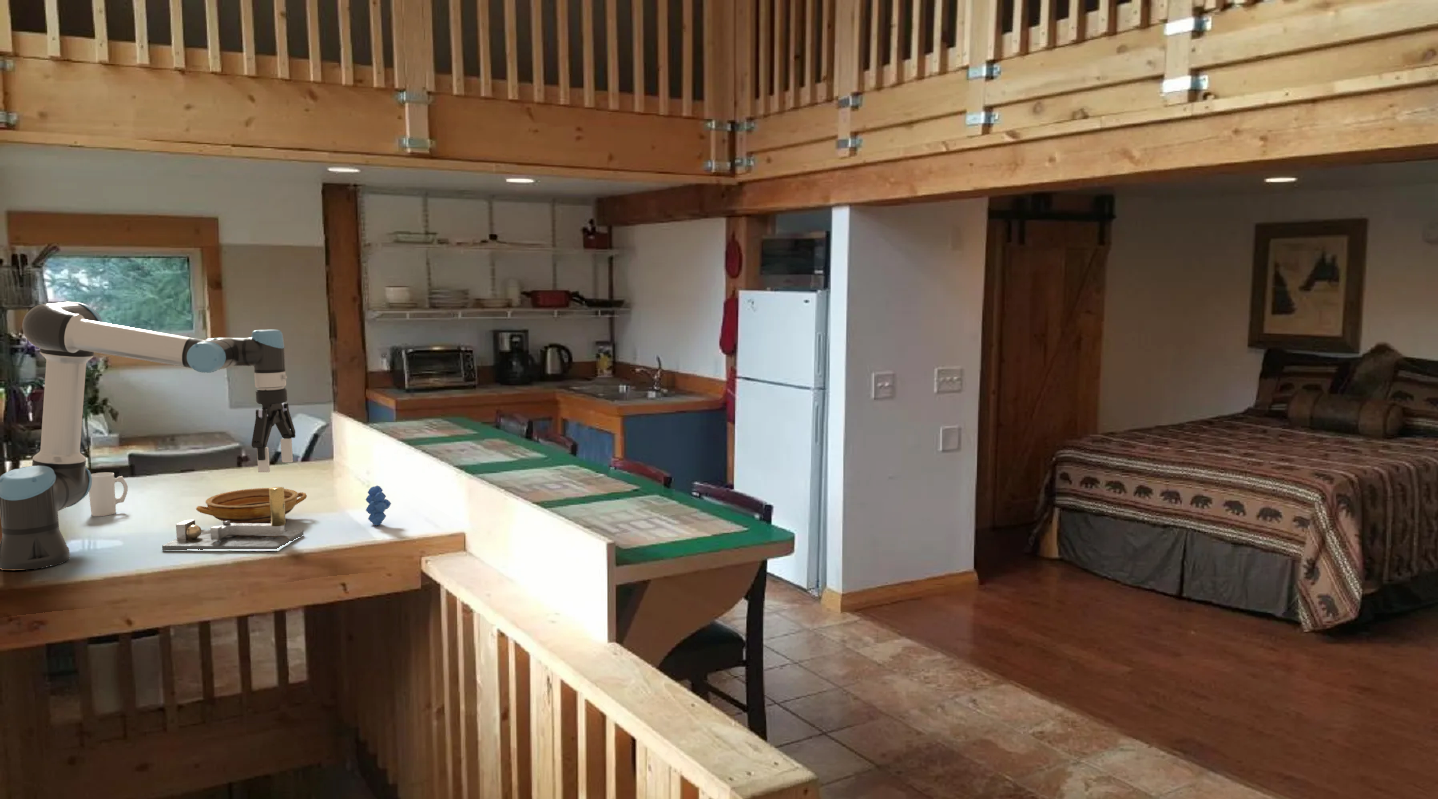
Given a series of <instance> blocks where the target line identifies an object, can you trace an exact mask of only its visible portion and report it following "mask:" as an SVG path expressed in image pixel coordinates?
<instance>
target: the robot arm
mask: <svg viewBox="0 0 1438 799" xmlns="http://www.w3.org/2000/svg"><path fill="white" fill-rule="evenodd" d="M22 332H23V335H24V337H25V338H26V339H27V341H28V342H29V343H30V344H31V345H33V346H34V347H36V348H39V354H40V355H41V356H42V357H43V358H45V361H46V363H45V375H44V376H45V377H44V391H43V406H42V407H43V409H42V420H41V421H42V423H41V434H40V436H41V438H40V450H39V452H37V453H35V455H33V456H32V463H31V465H30V466H23V467H20V468H14V469H12V470H8V471H6V472H5V473H3V474H1V475H0V525H1V534H2V535H1V536H2V537H1V540H0V568H2V569H34V570H37V569H36V568H41V569H43V568H42V567H46V566H50V565H54V566H58V565H61V564H63V563H65V562H64V561H66V562H67V561H69V560H70V559H71V554H70V548H69V547H68V545H67V542H66V540H65V538H64V536H63V534H62V532H61V530H60V525H59V524H60V523H59V513H58V512H59V511H62V510H63V509H66V508H70V507H72V506H74V505H77V504H78V503H79V502H81V501H82V500H83V499H84V498H85V497H87V495H89V491H90V489H91V485H92V476H91V474H92V473H91V471H90V470H89V469H88V468H87V466H86V462H87V458H86V456H84V454H82V453H81V439H82V429H83V428H82V425H83V411H84V397H85V385H86V384H85V382H86V373H87V372H86V370H87V363H88V362H89V361H90V360H91V359H93V358H94V356H95V353H98V354H103V355H108V356H115V357H121V358H127V359H128V358H129V359H132V360H134V359H135V360H141V361H146V362H147V361H148V362H151V363H159V364H165V365H172V366H178V367H185V368H187V369H188V368H189V369H193V370H194V371H196V372H199V373H204V374H205V373H207V374H208V373H209V374H210V373H214V372H217V371H218V370H219V371H220V370H222V369H227V368H231V367H253V371H254V387H255V388H257V389H256V390H255V401H256V404H259V405H261V408H259V409H255V420H254V426H253V434H252V438H251V439H252V440H251V444H250V445H251V448H253V449H256V459H257V472H258V473H270V472H271V468H270V454H269V452H270V450H269V447H268V441H269V438H270V435H271V432H272V429H273V427H274V426H276V428H277V430H278V432H279V434H280V435H281V437H282V438H280V452H281V462H282V463H293V462H294V457H293V455H294V454H293V441H292V440H293V439H295V438H296V429H295V426H294V422H293V419H292V416H291V413H290V410H289V409H290V407H289V403H288V390H287V388H286V386H287V379H288V376H287V374H286V360H285V357H286V356H285V348H286V347H285V343H284V335H283V332H282V331H281V330H280V329H273V328H272V329H271V328H270V329H255V330H252V332H251V335H250V336H251V337H250V336H248V337H221V336H220V337H218V336H217V337H214V338H213V337H211V338H205V339H201V338H196V337H195V338H194V337H190V336H189V337H188V336H184V335H183V336H182V335H178V334H173V333H172V334H170V333H165V332H160V331H153V330H148V329H143V328H135V327H130V326H125V325H119V324H112V323H108V322H104V321H103V319H102V317H101V315H100V314H99V313H98V312H97V311H96V310H95V308H93V307H91V306H90V305H89V304H86V303H82V302H77V301H63V302H52V303H51V302H46V303H41V304H38V305H36V306H33V307H32V308H31V309H29V311H28V312H26V313H25V316H24V317H23V320H22ZM69 558H70V559H69ZM68 559H69V560H68ZM62 562H63V563H62ZM60 563H61V564H60ZM57 564H58V565H57ZM50 567H51V566H50ZM46 568H47V567H46Z"/></svg>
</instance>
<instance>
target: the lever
mask: <svg viewBox="0 0 1438 799" xmlns="http://www.w3.org/2000/svg"><path fill="white" fill-rule="evenodd" d="M268 488H269V496H270V514H271V523H230V521H222V524H220V525H213V526H211V527H210V528H209V530H210V531H211V540H219V539H221V538H223V537H225V536H227V535H281V534H283V533H285V525H287V524H286V515H285V501H284V489H285V487H284V486H273V487H268Z"/></svg>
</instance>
